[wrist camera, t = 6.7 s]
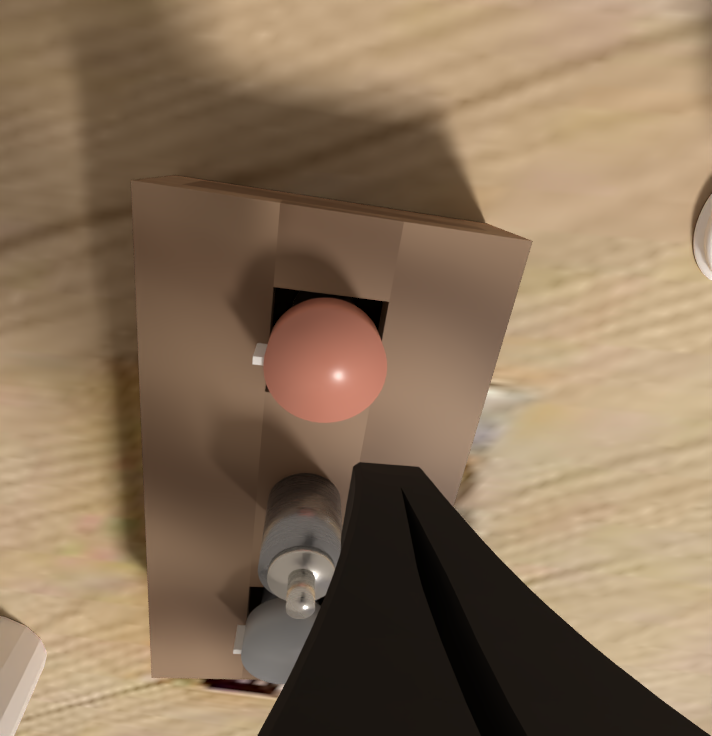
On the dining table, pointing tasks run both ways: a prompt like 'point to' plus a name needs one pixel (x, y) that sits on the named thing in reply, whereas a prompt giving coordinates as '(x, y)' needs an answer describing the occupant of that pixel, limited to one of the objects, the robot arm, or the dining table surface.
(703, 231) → the chess piece
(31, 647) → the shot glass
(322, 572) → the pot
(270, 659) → the knob grey
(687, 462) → the dining table surface
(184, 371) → the mount
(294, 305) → the knob red
